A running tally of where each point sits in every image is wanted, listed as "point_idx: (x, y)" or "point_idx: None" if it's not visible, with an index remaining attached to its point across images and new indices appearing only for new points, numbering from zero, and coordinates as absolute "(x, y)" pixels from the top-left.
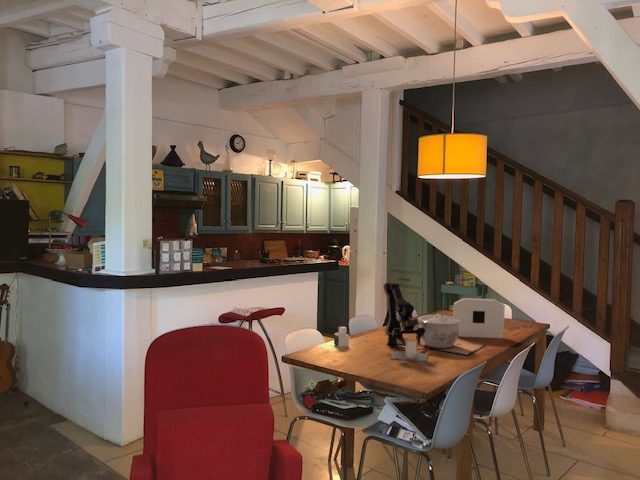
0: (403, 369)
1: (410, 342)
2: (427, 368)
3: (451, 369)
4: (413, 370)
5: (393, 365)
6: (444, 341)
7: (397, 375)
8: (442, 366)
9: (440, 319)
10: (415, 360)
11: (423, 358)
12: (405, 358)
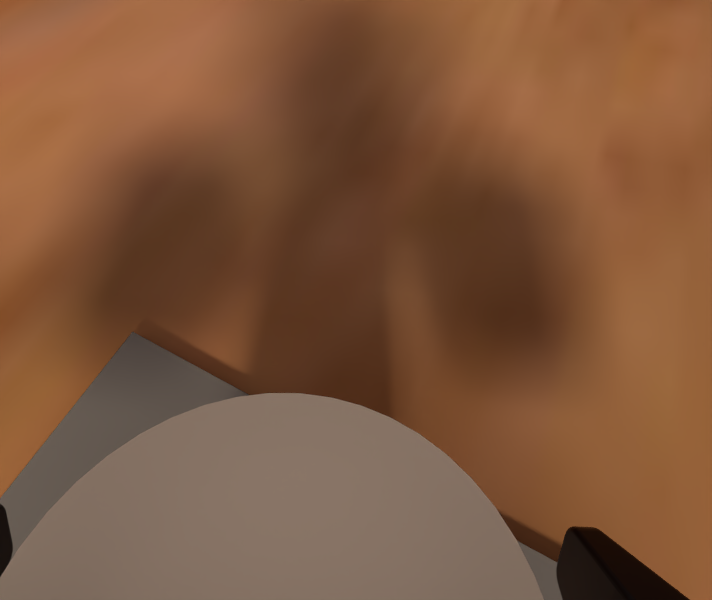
0: (562, 140)
1: (403, 434)
2: (277, 119)
3: (27, 49)
4: (462, 97)
5: (662, 285)
6: None
7: (648, 24)
8: (45, 144)
9: None
10: None
11: None
12: None
